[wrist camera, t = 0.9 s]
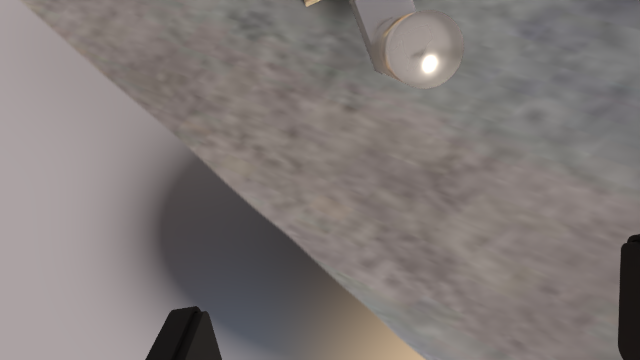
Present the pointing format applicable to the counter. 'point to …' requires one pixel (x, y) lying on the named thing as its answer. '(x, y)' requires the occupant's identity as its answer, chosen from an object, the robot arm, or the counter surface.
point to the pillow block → (310, 2)
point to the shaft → (409, 41)
